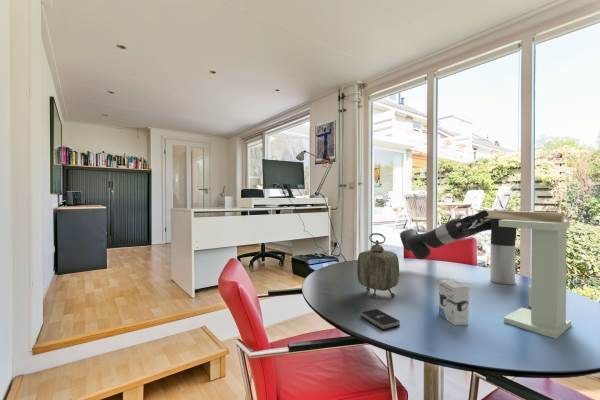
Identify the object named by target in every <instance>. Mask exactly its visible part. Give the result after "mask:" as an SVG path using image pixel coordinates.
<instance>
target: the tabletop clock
mask: <svg viewBox="0 0 600 400" xmlns="http://www.w3.org/2000/svg"><path fill="white" fill-rule="evenodd" d="M376 235H377V236H380V237H382V238H383V239H384V240H383V241H380V242H379V240H378V239H376V240H375V241H374V240H372V239H371V238H372V236H376ZM368 240H369V241H370V242H371V243H373V245H371V247H370V249H368V250H365V251H361V252H359V253H358V256H357V266H356V269H357V272H356V273H357V274H356V275H357V281H358V284H360V285H361V286H363V287H365V289H366V291H367V292H370V291H371V289H372V290H373V293H372V295H371V296H372V298H374V297H375V298H377V297H378V296H377V291H382V292H385V291H388V292H389V294H390V297H391V298H395V297H396V294H395V293H393V292H392V290H391V289H393V288H395V287H396V286H397V285H398V283H399V280H400V278H399V277H400V261H399V258H398V255H397V253H395V252H393V251H391V250H386V249H384V247H383V246H382V244H384V243H385V242H386V237H385V235H384V234H382V233H379V232H374V233H371V234H370V235H369V237H368Z"/></svg>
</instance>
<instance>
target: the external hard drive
mask: <svg viewBox="0 0 600 400" xmlns="http://www.w3.org/2000/svg"><path fill="white" fill-rule="evenodd" d="M360 317H362V319H363V320H364V319H365V321H366V322H368V323H369V324H371V325H372V326H374V327H376V328H377V329H379V330H381V331H382V332H384V331H385V332H386V331H390V330H392V329H396V328H400V327H401V321H400V320H399V319H398V318H395V317H393V316H391V315H390V314H388V313H385V312H384V311H382V310H380V309H378V308H373V309H368V310H365V311H364V310H363V311H360Z"/></svg>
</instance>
